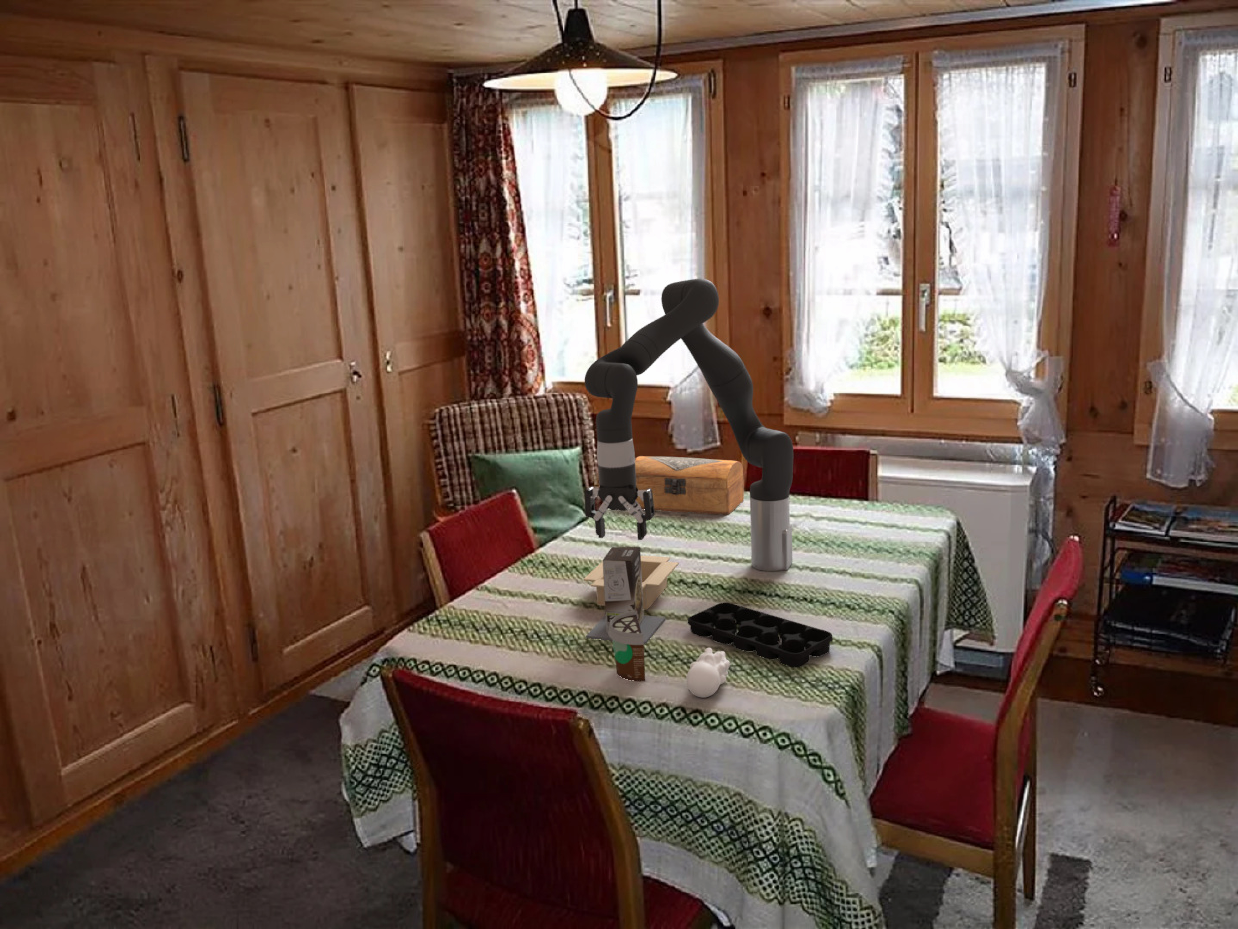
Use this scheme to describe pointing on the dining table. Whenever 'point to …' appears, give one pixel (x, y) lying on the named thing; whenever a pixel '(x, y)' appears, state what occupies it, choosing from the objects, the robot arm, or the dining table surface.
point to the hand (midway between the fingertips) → (621, 537)
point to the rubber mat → (647, 628)
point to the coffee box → (622, 583)
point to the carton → (652, 578)
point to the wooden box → (691, 484)
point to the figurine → (707, 673)
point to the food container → (628, 646)
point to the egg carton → (761, 633)
